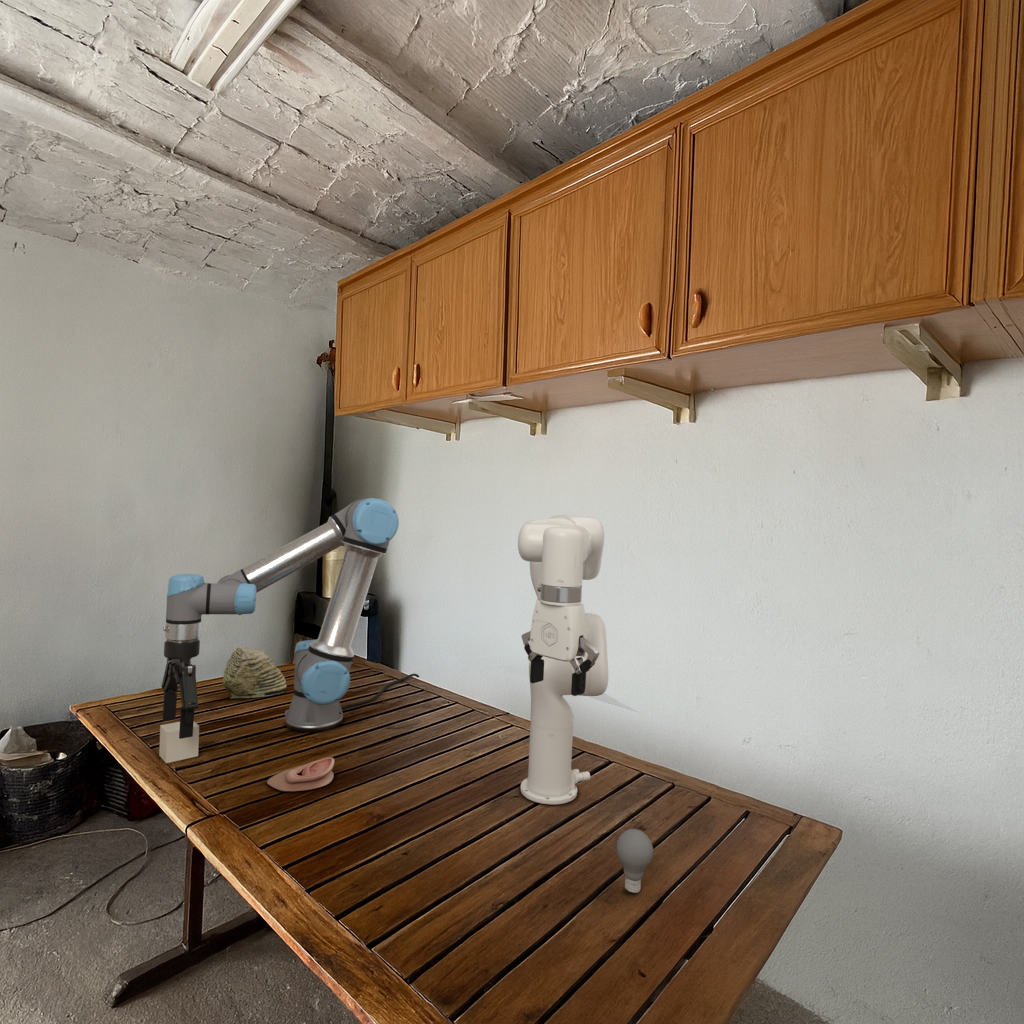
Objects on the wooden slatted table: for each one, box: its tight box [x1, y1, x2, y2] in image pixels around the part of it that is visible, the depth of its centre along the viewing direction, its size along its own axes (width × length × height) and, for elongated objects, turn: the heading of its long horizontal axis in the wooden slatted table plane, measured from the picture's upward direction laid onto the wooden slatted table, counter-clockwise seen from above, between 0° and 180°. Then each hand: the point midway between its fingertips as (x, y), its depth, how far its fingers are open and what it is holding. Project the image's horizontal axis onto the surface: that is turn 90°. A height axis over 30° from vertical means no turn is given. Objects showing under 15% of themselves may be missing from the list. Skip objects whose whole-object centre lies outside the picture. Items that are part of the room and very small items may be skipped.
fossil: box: [222, 646, 288, 699], centre depth 198 cm, size 9×18×15 cm, turn 132°
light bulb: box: [615, 828, 654, 894], centre depth 106 cm, size 6×6×10 cm
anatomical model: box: [266, 757, 335, 792], centre depth 140 cm, size 13×4×12 cm
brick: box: [158, 721, 200, 764], centre depth 151 cm, size 6×7×7 cm
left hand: (177, 728), depth 151 cm, fingers open, 13 cm apart
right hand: (556, 687), depth 116 cm, fingers open, 9 cm apart
